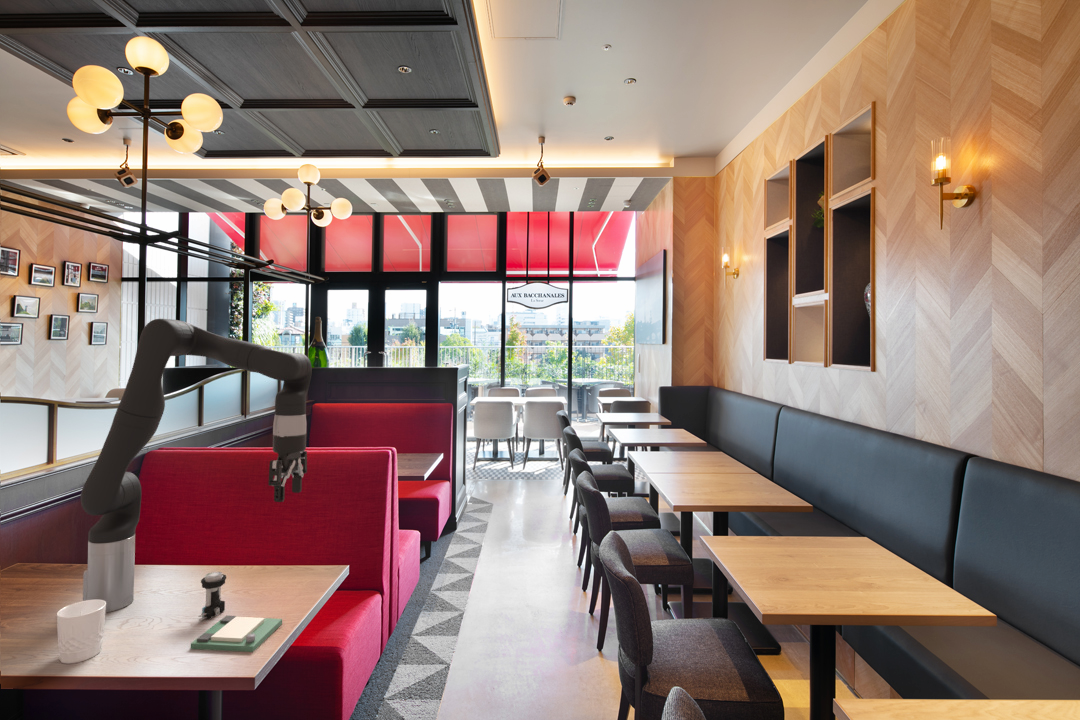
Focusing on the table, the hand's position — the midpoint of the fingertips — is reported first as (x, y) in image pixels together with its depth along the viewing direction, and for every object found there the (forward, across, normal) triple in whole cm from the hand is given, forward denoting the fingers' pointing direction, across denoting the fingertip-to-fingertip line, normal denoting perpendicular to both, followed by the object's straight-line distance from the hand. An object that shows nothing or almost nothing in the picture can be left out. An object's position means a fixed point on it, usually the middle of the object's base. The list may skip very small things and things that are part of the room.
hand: (288, 496), depth 131 cm
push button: (+30, +3, -17) cm, 34 cm away
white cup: (+30, +21, -33) cm, 49 cm away
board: (+29, +11, -5) cm, 32 cm away
